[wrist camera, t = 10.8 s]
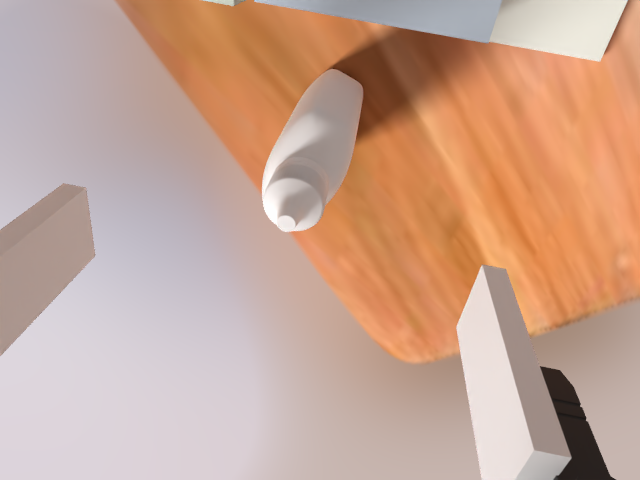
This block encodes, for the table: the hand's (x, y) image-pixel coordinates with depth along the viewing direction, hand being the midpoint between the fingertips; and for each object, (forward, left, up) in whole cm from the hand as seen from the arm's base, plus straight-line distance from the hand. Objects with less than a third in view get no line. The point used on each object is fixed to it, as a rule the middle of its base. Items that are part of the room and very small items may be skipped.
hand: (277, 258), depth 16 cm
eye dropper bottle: (0, 0, -14) cm, 14 cm away
